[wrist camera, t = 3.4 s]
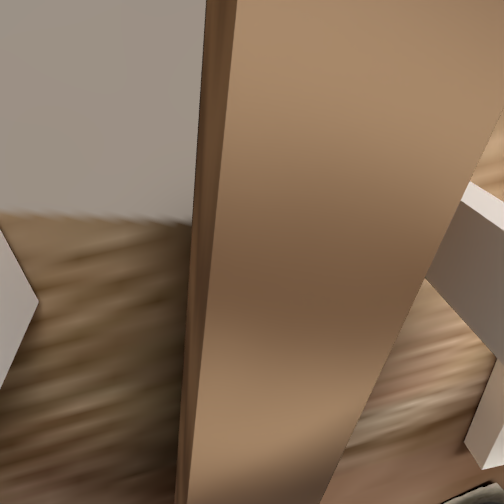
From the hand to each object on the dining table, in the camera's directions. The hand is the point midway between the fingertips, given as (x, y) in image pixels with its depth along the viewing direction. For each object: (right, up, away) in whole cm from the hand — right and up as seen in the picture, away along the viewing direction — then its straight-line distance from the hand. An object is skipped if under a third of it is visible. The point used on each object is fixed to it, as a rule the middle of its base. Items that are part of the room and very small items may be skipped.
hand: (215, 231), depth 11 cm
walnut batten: (0, -5, +4) cm, 6 cm away
